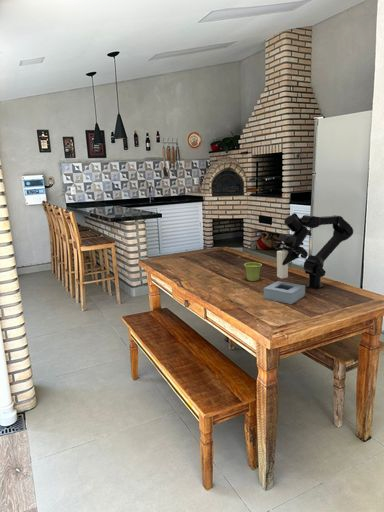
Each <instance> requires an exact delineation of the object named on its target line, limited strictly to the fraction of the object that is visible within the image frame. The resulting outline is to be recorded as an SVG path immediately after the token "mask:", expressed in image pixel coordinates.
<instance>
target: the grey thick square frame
mask: <svg viewBox="0 0 384 512" xmlns="http://www.w3.org/2000/svg"><path fill="white" fill-rule="evenodd" d="M304 297H306V285H303V284H297V283H292V282H287V281H280V280H277V281H275V282H272V283H271V284H269V285H267V286H264V287H263V299H264V300H269V301H275V302H278V303H284V304H288V305H292V304H294V303H297V302H298V301H299V300H301V299H302V298H304Z"/></svg>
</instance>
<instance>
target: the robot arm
mask: <svg viewBox="0 0 384 512" xmlns="http://www.w3.org/2000/svg"><path fill="white" fill-rule="evenodd" d="M283 222H284V225H285V226H286V227H287V228H288V229H289V230H290V231H291V232H293V233H290V234H283V233H280V234H279V238H278V241H274V243H273V244H272V246H273V247H274V249H276V250H277V251H281V250H284V251H288V255H287V256H286V258H285V260H284V261H283V263H282V265H286V264H287V263H288V264H289V263H291V262H292V261H294V260H297V259H299V258H301V259H305V260H304V263H303V270H304V273H305V274H306V275H308V284H307V285H305V288H311V289H316V290H317V289H318V290H319V289H321V288H322V287H324V284H321V282H322V279H321V278H323V277H324V276H325V275H326V270H325V269H324V265H325V264H324V263H325V261H326V260H327V259H328V257H330V255H331V254H332V253H333V252H334V251H335V249H337V247H338V246H339V245H340V244H341V243H342V242H345V241H347V240H348V239H350V238H351V237H352V235H353V234H354V229H353V226H351V224H350V223H349V222H347V221H346V220H345V219H344V217H342V216H341V215H335V214H334V215H330V216H329V215H327V216H326V215H325V216H315V215H306V214H305V215H302V216H301V217H299V216H298V214H297V213H295V212H293V213H292V214H291V215H288V216H287V217H286V218H285V219H284V221H283ZM323 225H325V226H326V225H332V229H333V231H332V237H330V239H329V240H328V241H327V242H326V243H325V244H324V245H323V247H321V249H320V250H319V251H318V252H317V253H316V254H315V255H312V254H309V255H308V253H309V251H307V250H306V249H305V248H304V247H303V245H304V244H305V243H304V240H305V239H306V238H307V237H308V236H309V237H310V236H312V231H311V229H316V228H318V227H320V226H323ZM309 228H310V229H309Z"/></svg>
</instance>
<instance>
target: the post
mask: <svg viewBox="0 0 384 512" xmlns="http://www.w3.org/2000/svg"><path fill="white" fill-rule="evenodd" d="M287 255H288V251H284V250H281V251H278V250H277V251H276V277H277V278H279V279H285V278H288V277H289V269H288V268H289V263H287V264H286V265H282V263H283V261H284V260H285V258H286V256H287Z"/></svg>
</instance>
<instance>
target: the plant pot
mask: <svg viewBox="0 0 384 512" xmlns="http://www.w3.org/2000/svg"><path fill="white" fill-rule="evenodd" d="M243 264H244V268H245V272H246V280H247V281H249V282H255V281H259V279H260V274H261V272H260V271H261V268H262V266H263V264H262V263H260V262H255V261H253V262H252V261H251V262H250V261H249V262H246V263H243Z"/></svg>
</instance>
